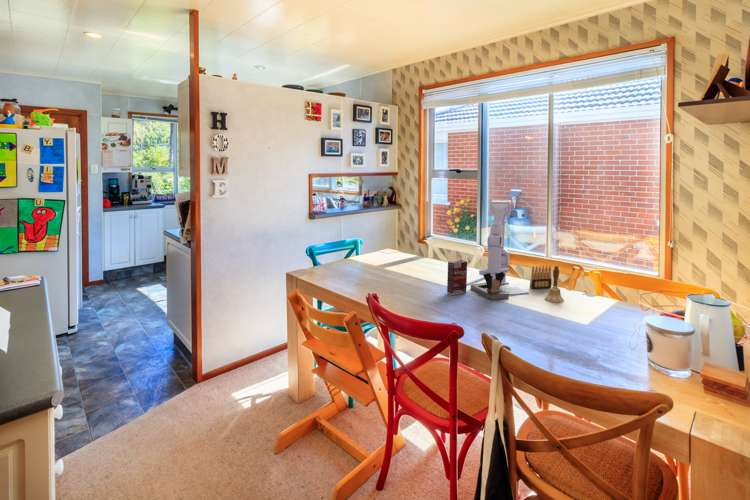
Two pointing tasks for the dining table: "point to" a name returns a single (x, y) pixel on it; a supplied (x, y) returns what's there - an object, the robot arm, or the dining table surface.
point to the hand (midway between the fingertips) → (493, 288)
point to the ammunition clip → (540, 278)
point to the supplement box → (457, 277)
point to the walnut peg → (494, 286)
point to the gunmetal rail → (482, 290)
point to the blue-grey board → (514, 291)
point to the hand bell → (554, 289)
